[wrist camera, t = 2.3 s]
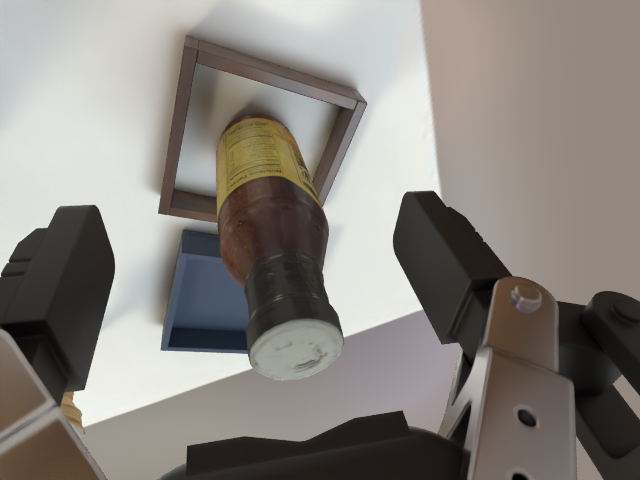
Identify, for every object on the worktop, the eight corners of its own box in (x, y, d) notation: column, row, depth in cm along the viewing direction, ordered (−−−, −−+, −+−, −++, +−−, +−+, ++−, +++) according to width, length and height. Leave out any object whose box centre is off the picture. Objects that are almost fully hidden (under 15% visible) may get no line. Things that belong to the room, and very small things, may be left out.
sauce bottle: (289, 183, 34) (350, 396, 20) (214, 179, 33) (218, 410, 18) (301, 108, 30) (389, 306, 16) (216, 99, 29) (224, 312, 14)
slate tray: (163, 326, 42) (160, 350, 40) (182, 229, 35) (181, 252, 33) (273, 332, 47) (276, 355, 45) (311, 248, 40) (317, 270, 37)
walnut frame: (160, 195, 33) (157, 213, 31) (186, 34, 26) (184, 45, 24) (304, 221, 37) (309, 237, 36) (358, 90, 30) (368, 103, 29)
